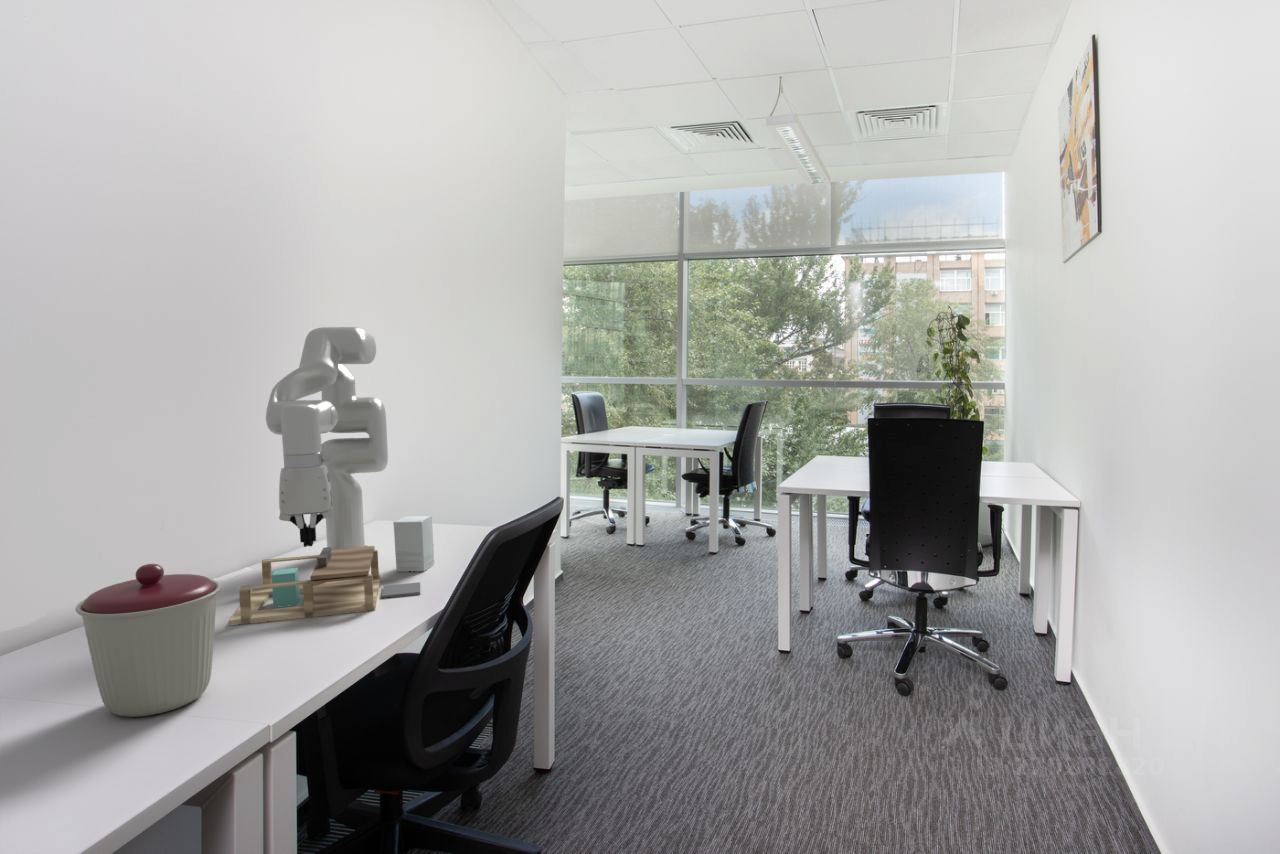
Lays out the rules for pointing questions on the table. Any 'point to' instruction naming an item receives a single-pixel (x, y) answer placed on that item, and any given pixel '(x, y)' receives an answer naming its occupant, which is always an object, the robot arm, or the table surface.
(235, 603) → the table surface
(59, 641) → the table surface
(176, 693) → the canister
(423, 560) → the supplement box
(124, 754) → the table surface
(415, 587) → the felt mat
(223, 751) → the table surface
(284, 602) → the teal block
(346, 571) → the walnut lid
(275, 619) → the light wood slatted frame
